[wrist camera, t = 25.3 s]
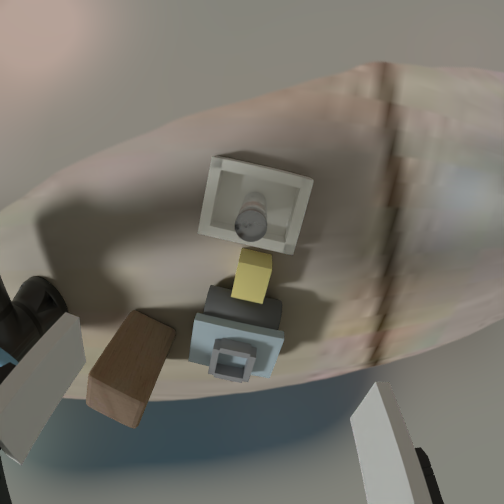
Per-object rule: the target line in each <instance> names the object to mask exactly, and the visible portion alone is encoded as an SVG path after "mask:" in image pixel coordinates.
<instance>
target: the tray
mask: <svg viewBox="0 0 504 504" xmlns="http://www.w3.org/2000/svg"><path fill="white" fill-rule="evenodd" d="M313 182H314V180H313V179H311V178H310V177H307V176H303V175H300V174H296V173H292V172H288V171H284V170H280V169H276V168H272V167H268V166H263V165H259V164H255V163H250V162H246V161H241V160H236V159H232V158H227V157H222V156H213V157H212V160H211V164H210V169H209V174H208V179H207V184H206V190H205V195H204V200H203V205H202V211H201V216H200V222H199V228H198V234H201V235H206V236H210V237H214V238H219V239H223V240H228V241H232V242H236V243H241V244H245V245H250V246H254V247H258V248H263V249H267V250H271V251H276V252H280V253H284V254H289V255H293V253H294V250H295V246H296V243H297V240H298V236H299V233H300V229H301V226H302V222H303V219H304V215H305V212H306V208H307V204H308V201H309V197H310V193H311V190H312V186H313ZM250 192H259V193H261V194H263V195H264V197H265V198H266V202H267V231H266V233H265V235H264V236H263V237H262V238H261V239H260V240H258V241H255V242H247V241H244V240H242V239H241V238H240V237H239V236H238V235H237V233H236V231H235V221H236V218H237V216H238V213H239V210H240V207H241V205H242V202H243V199H244V197H245V196H246V195H247V194H248V193H250Z"/></svg>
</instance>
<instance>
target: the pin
mask: <svg viewBox="0 0 504 504" xmlns="http://www.w3.org/2000/svg"><path fill="white" fill-rule="evenodd" d="M235 231H236V233H237V235H238V236H239V237H240V238H241V239H242V240H244V241H247V242H255V241H258V240H260V239H261V238H262V237H263V236H264V235H265V233H266V231H267V202H266V198H265V197H264V195H263V194H261V193H259V192H250V193H248V194H247V195H246V196H245V197H244V199H243V202H242V205H241V207H240V210H239V213H238V216H237V218H236V221H235Z"/></svg>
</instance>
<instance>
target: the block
mask: <svg viewBox="0 0 504 504" xmlns="http://www.w3.org/2000/svg"><path fill="white" fill-rule="evenodd" d="M175 336H176V333H175V330H174V329H173V328H171V327H169V326H167V325H165V324H163V323H160V322H158V321H156V320H154V319H152V318H150V317H148V316H146V315H144V314H142V313H140V312H138V311H136V310H133V311H132V312H130V314H129V315H128V316H127V318H126V319H125V321H124V322H123V324H122V325H121V326H120V328H119V329H118V331H117V332H116V334H115V335H114V337H113V338H112V339H111V341H110V342H109V344H108V345H107V347H106V348H105V350H104V351H103V353H102V354H101V356H100V357H99V359H98V360H97V362H96V363H95V365H94V366H93V368H92V369H91V371H90V372H89V376H88V385H87V396H86V403H87V405H88V406H89V407H91V408H93V409H95V410H97V411H98V412H100V413H102V414H104V415H106V416H108V417H110V418H112V419H114V420H116V421H118V422H120V423H122V424H124V425H126V426H129V427H131V428H136V427H137V426H138V425H139V423H140V420H141V417H142V415H143V413H144V410H145V407H146V405H147V403H148V400H149V398H150V395H151V393H152V390H153V388H154V386H155V383H156V381H157V378H158V376H159V373H160V371H161V369H162V366H163V364H164V361H165V359H166V357H167V354H168V352H169V350H170V347H171V345H172V343H173V340H174V338H175Z"/></svg>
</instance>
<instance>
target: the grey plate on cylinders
mask: <svg viewBox="0 0 504 504" xmlns="http://www.w3.org/2000/svg"><path fill="white" fill-rule="evenodd" d="M231 293H232V290H231V289H227V288H222V287H218V286H214V285H211V286H210V288H209V292H208V295H207V299H206V303H205V308H204V312H203V314H201V313H197V314H196V316H195V319H194V325H193V332H192V339H191V346H190V353H189V361H190V362H194V363H198V364H202V365H206V366H209V371H208V374H212V375H214V377H216V378H220V379H225V380H230V381H235V382H240V383H242V381H246V382H248V381H249V378H250V375H254V376H260V377H266V378H270V375H271V373H272V370H273V368H274V365H275V363H276V360H277V357H278V355H279V352H280V349H281V347H282V344H283V341H284V331H279V330H278V328H279V324H280V319H281V313H282V301H281V300H277V299H272V298H267V297H264V300H263V304H261V303H256V302H251V301H247V300H242V299H238V298H234V297H231Z"/></svg>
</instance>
